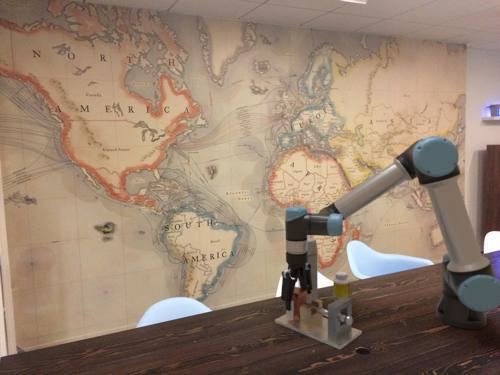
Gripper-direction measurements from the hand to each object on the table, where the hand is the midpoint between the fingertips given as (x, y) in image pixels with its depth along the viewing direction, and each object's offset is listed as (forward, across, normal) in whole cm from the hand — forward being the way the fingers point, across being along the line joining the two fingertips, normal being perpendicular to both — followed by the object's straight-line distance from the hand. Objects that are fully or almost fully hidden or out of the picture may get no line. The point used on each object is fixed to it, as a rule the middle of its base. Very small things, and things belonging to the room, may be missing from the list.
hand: (297, 314), depth 124 cm
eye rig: (+2, 0, +8) cm, 8 cm away
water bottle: (+2, -16, -8) cm, 18 cm away
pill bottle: (+2, -26, +2) cm, 26 cm away
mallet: (0, 0, +9) cm, 9 cm away
